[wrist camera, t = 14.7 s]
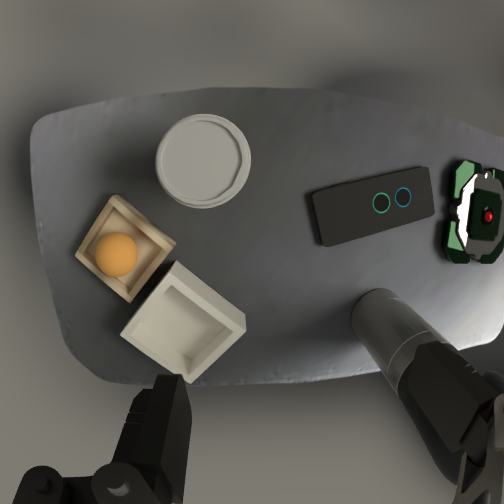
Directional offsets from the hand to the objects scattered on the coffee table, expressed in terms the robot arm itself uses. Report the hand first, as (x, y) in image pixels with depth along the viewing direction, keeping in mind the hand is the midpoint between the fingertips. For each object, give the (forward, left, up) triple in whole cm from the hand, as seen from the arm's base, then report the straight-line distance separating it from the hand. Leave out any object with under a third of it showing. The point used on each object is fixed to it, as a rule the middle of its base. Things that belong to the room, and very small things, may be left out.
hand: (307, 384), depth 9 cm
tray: (+11, +15, -33) cm, 38 cm away
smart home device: (-12, -14, -34) cm, 39 cm away
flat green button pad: (-29, -29, -34) cm, 53 cm away
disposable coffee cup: (+9, -2, -33) cm, 35 cm away
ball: (+11, +15, -29) cm, 35 cm away
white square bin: (-2, +18, -33) cm, 38 cm away
